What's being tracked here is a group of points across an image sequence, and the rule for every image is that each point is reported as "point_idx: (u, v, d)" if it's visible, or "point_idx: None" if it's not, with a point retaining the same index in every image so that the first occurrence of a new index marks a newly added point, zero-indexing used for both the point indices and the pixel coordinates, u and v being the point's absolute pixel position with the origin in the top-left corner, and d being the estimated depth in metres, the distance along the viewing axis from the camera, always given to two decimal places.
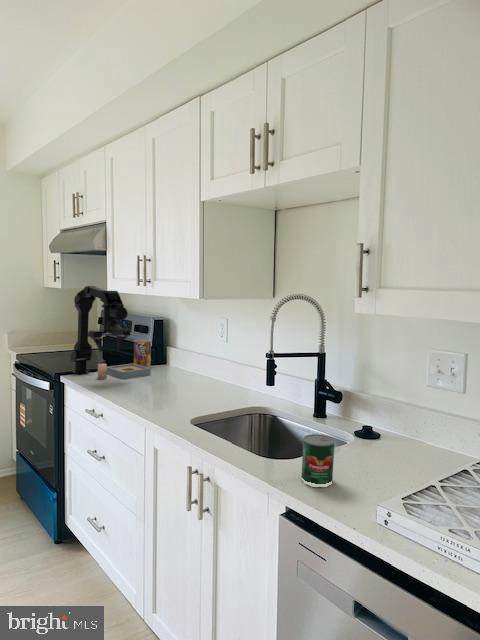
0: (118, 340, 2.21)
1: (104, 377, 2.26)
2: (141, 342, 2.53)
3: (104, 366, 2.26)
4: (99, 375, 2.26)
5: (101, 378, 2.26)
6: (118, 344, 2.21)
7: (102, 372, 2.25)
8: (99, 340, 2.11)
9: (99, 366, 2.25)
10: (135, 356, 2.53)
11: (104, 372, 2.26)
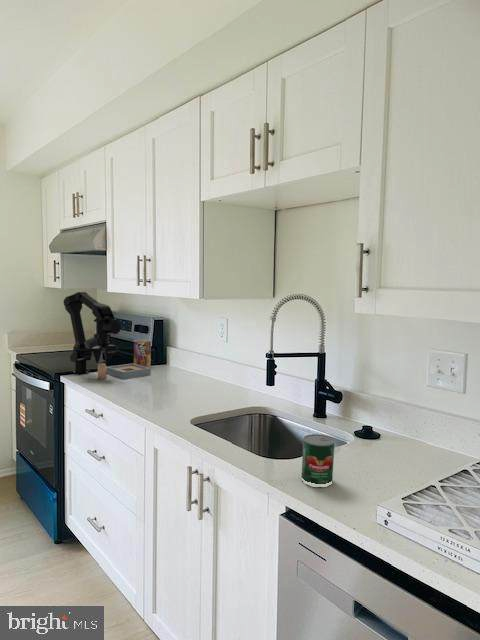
0: None
1: (104, 377, 2.26)
2: (141, 342, 2.53)
3: (104, 366, 2.26)
4: (99, 375, 2.26)
5: (101, 378, 2.26)
6: None
7: (102, 372, 2.25)
8: (91, 350, 2.29)
9: (99, 366, 2.25)
10: (135, 356, 2.53)
11: (104, 372, 2.26)
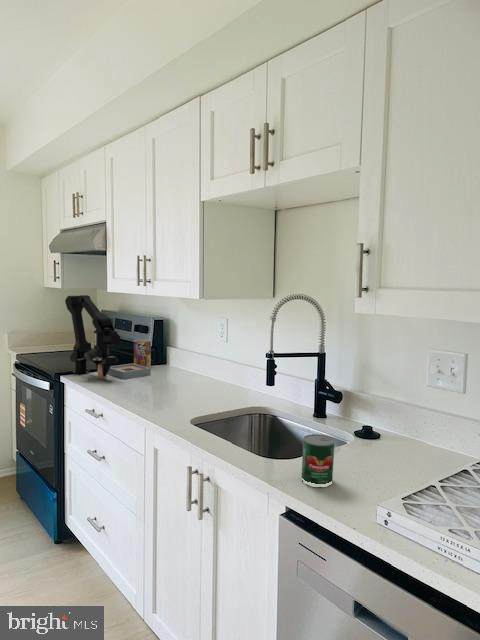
0: None
1: (104, 377, 2.26)
2: (141, 342, 2.53)
3: None
4: (99, 375, 2.26)
5: (101, 378, 2.26)
6: None
7: (102, 372, 2.25)
8: (94, 362, 2.28)
9: (99, 366, 2.25)
10: (135, 356, 2.53)
11: None
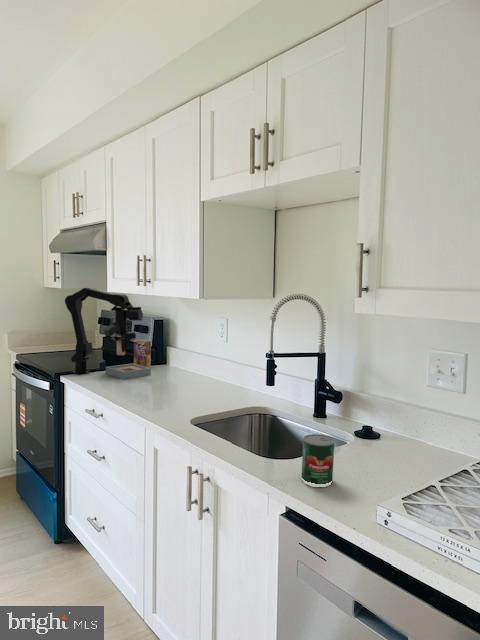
0: None
1: (123, 353, 2.33)
2: (141, 342, 2.53)
3: None
4: (118, 351, 2.32)
5: (120, 354, 2.32)
6: None
7: (121, 348, 2.32)
8: (113, 338, 2.35)
9: (118, 342, 2.32)
10: (135, 356, 2.53)
11: None
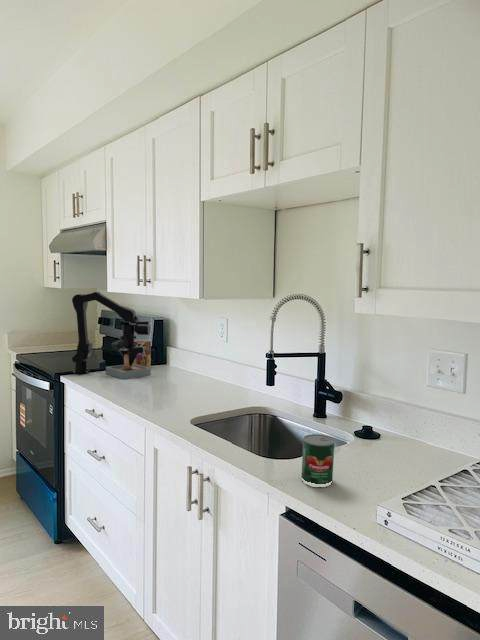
0: None
1: (130, 366, 2.37)
2: (141, 342, 2.53)
3: None
4: (125, 364, 2.37)
5: (127, 367, 2.37)
6: None
7: (128, 361, 2.36)
8: (120, 352, 2.39)
9: (125, 356, 2.36)
10: None
11: None
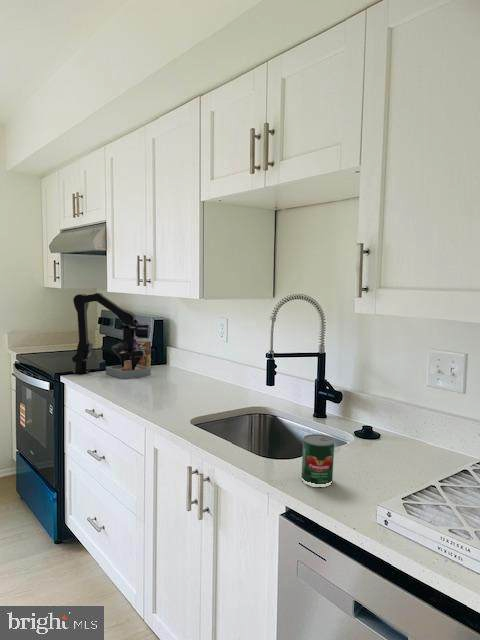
0: None
1: None
2: (141, 342, 2.53)
3: (130, 362, 2.37)
4: None
5: None
6: None
7: (128, 368, 2.37)
8: None
9: (125, 362, 2.37)
10: None
11: (130, 368, 2.37)
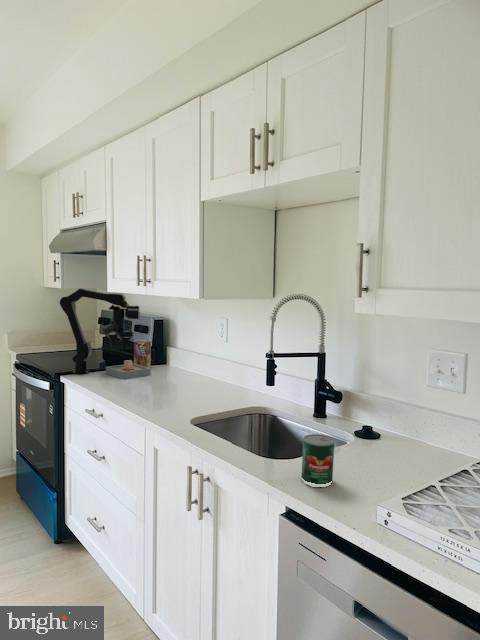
0: None
1: None
2: (141, 342, 2.53)
3: (130, 362, 2.37)
4: None
5: None
6: None
7: (128, 368, 2.37)
8: None
9: (125, 362, 2.37)
10: (135, 356, 2.53)
11: (130, 368, 2.37)
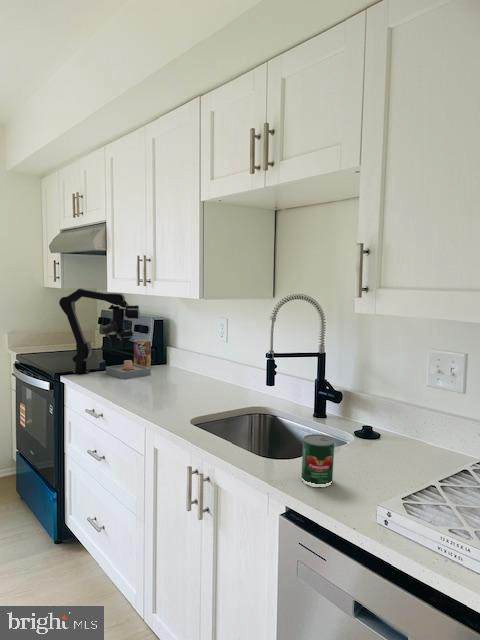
0: None
1: None
2: (141, 342, 2.53)
3: (130, 362, 2.37)
4: None
5: None
6: None
7: (128, 368, 2.37)
8: None
9: (125, 362, 2.37)
10: (135, 356, 2.53)
11: (130, 368, 2.37)
